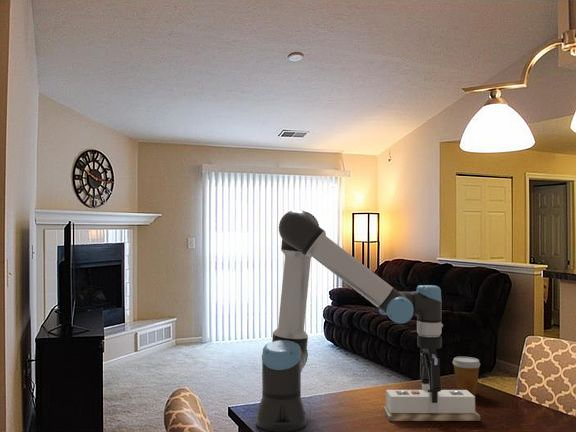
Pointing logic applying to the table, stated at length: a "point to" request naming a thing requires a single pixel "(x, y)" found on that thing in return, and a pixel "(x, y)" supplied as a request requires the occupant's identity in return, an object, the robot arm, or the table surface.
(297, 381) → the robot arm
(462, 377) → the disposable coffee cup
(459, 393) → the chrome knobs
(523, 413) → the table surface
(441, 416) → the hanger board
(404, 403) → the power strip
